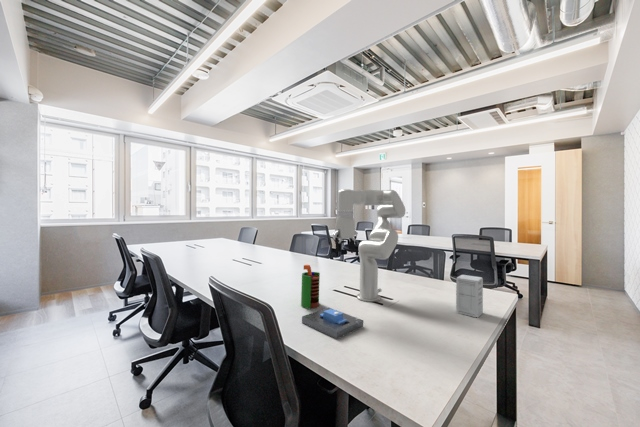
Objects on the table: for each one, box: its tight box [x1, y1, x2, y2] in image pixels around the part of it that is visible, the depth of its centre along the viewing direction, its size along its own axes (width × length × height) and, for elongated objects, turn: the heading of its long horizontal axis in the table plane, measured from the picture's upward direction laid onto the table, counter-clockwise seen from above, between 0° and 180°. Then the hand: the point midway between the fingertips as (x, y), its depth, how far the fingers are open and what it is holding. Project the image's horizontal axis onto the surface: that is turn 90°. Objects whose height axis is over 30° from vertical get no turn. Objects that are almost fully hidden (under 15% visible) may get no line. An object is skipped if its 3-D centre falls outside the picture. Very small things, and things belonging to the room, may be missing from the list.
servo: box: [320, 308, 347, 326], centre depth 114 cm, size 4×12×6 cm, turn 43°
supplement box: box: [455, 274, 484, 318], centre depth 130 cm, size 10×9×17 cm
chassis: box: [301, 307, 364, 340], centre depth 115 cm, size 16×20×3 cm
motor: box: [300, 264, 321, 309], centre depth 138 cm, size 10×9×20 cm
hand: (345, 250), depth 133 cm, fingers open, 9 cm apart
